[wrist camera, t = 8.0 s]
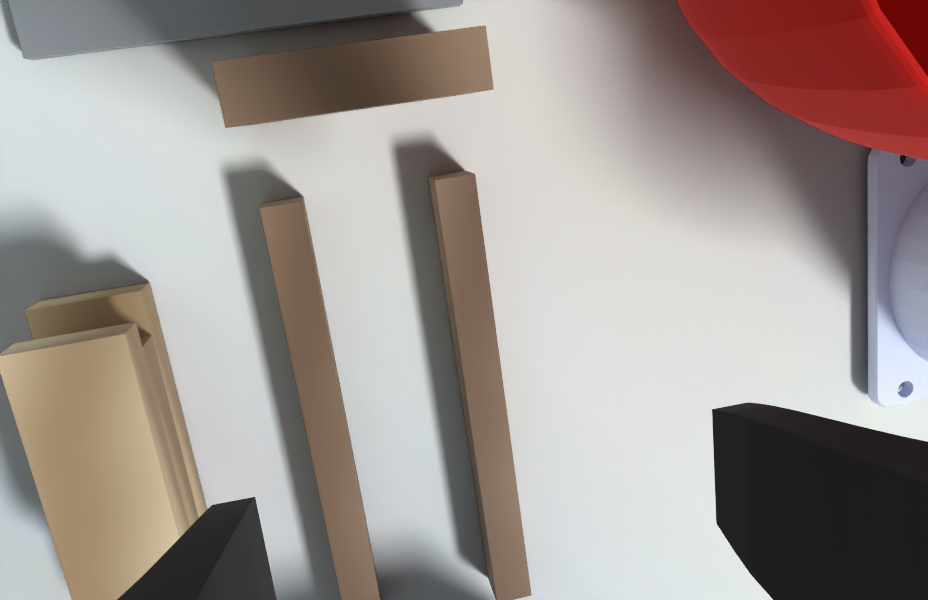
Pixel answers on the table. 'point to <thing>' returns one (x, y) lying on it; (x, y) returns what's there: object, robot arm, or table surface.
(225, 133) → the table surface
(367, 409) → the table surface
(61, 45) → the slate mat
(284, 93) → the walnut rack
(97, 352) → the offcut stack
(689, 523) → the table surface
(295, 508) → the table surface
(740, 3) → the ceramic cup
